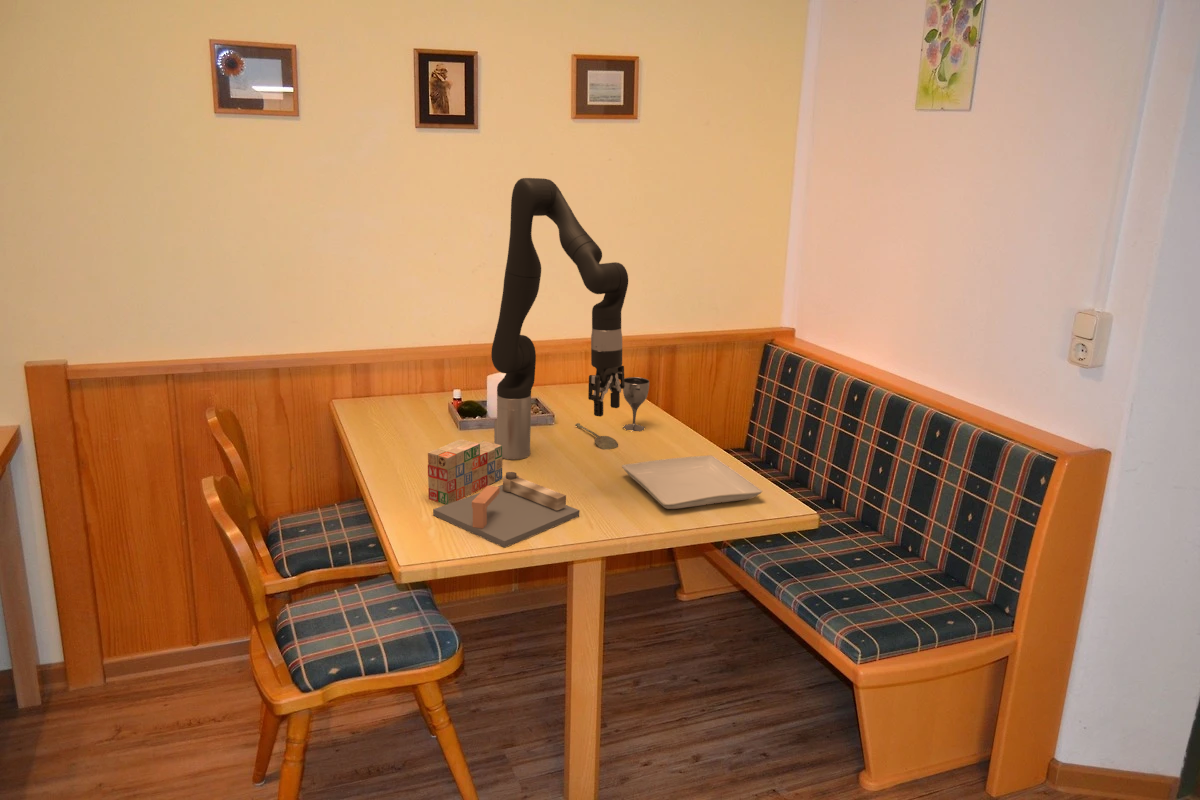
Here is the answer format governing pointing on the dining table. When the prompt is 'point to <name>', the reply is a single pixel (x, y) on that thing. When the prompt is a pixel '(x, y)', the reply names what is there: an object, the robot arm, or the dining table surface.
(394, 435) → the dining table surface
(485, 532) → the board
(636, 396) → the wine glass
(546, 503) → the arm link
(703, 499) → the square plate
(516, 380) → the robot arm
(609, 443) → the soupspoon
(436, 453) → the stack of blocks
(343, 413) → the dining table surface
